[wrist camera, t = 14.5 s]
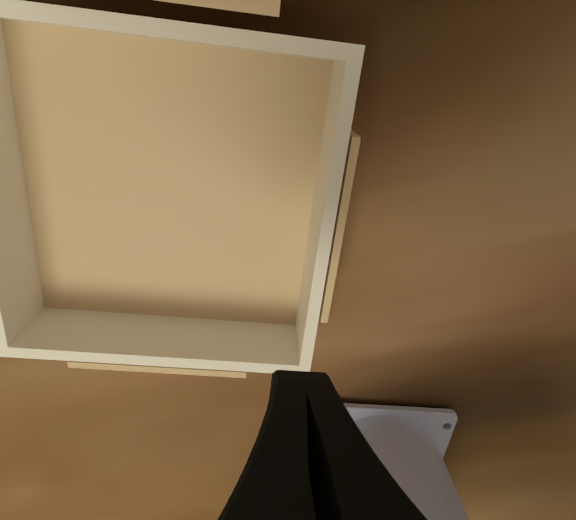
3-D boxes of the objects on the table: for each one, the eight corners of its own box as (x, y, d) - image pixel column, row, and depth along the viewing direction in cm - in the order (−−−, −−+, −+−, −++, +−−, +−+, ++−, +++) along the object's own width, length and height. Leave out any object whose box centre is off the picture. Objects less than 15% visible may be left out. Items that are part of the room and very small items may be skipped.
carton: (309, 336, 22) (316, 383, 19) (39, 317, 21) (-2, 364, 18) (356, 49, 16) (377, 46, 13) (-10, 2, 15) (-83, -14, 12)
